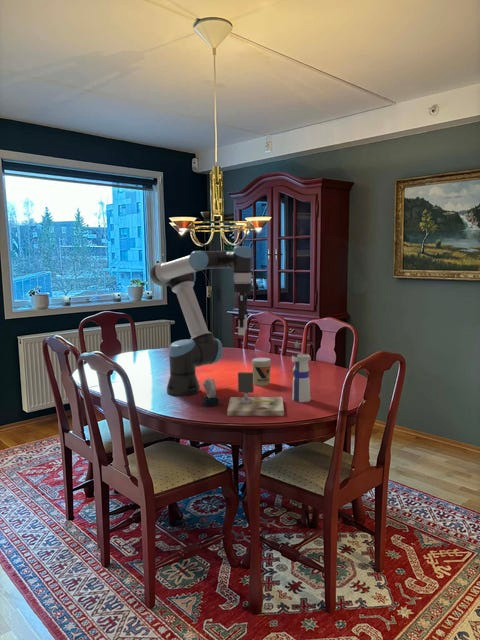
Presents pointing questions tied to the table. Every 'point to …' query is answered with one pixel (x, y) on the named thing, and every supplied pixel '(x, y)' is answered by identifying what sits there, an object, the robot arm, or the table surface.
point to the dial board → (256, 407)
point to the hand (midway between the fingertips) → (242, 332)
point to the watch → (210, 393)
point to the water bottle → (301, 377)
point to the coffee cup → (261, 371)
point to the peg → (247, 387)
